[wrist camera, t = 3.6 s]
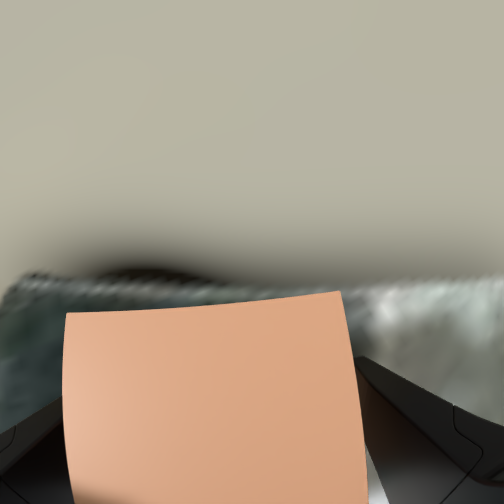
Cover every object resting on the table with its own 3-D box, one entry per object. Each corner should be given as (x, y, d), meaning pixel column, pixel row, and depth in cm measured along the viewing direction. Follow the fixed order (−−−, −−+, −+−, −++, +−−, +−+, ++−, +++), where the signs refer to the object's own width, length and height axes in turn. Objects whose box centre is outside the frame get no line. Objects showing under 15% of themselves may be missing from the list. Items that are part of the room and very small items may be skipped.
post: (299, 454, 12) (368, 555, 2) (201, 461, 12) (87, 549, 2) (288, 365, 14) (339, 290, 5) (194, 373, 14) (66, 313, 5)
